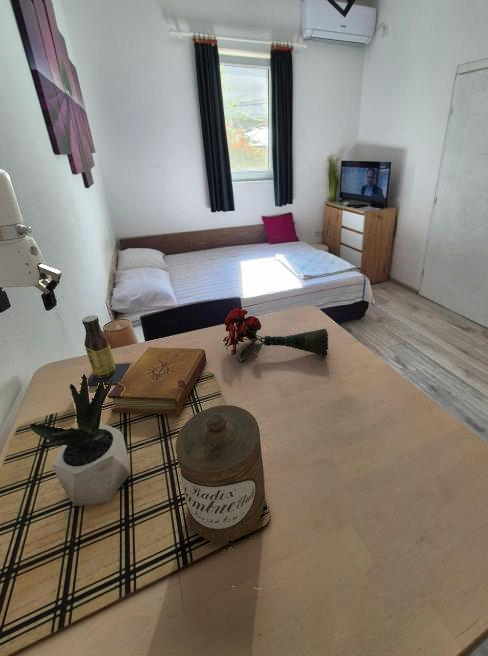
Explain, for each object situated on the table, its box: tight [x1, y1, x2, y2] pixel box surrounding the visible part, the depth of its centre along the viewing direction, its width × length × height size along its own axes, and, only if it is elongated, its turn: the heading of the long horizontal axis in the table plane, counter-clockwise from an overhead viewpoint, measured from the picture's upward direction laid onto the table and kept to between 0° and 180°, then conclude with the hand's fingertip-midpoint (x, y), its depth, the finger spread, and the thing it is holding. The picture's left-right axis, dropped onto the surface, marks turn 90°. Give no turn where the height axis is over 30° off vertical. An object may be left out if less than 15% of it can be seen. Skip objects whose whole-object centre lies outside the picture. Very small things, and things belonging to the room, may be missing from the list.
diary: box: [107, 346, 207, 416], centre depth 95 cm, size 23×19×6 cm
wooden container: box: [175, 404, 266, 544], centre depth 60 cm, size 15×15×22 cm
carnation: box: [222, 307, 329, 363], centre depth 111 cm, size 16×18×35 cm
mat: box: [87, 362, 131, 387], centre depth 101 cm, size 10×10×1 cm
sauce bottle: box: [81, 314, 116, 378], centre depth 98 cm, size 7×6×20 cm
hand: (28, 309), depth 72 cm, fingers open, 9 cm apart
